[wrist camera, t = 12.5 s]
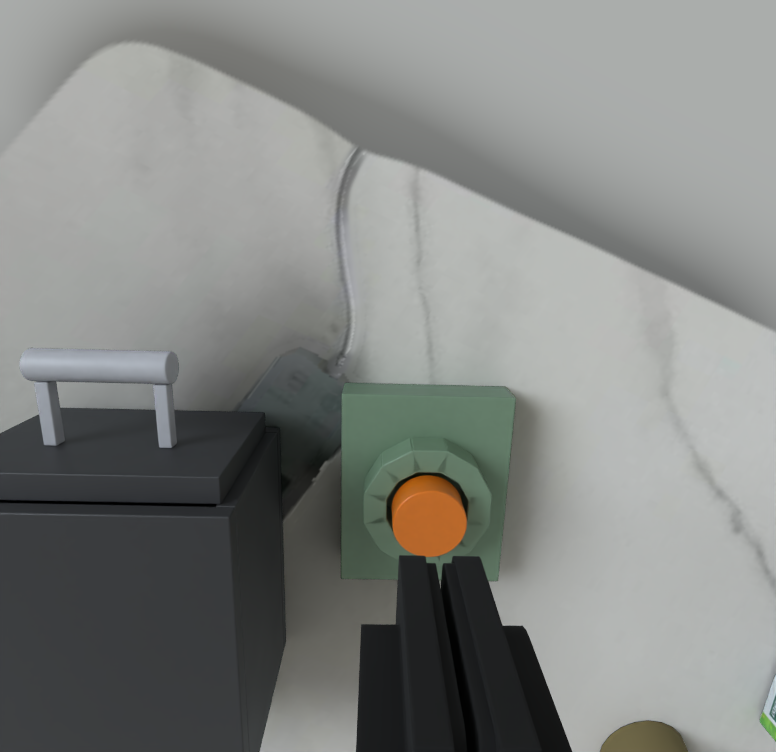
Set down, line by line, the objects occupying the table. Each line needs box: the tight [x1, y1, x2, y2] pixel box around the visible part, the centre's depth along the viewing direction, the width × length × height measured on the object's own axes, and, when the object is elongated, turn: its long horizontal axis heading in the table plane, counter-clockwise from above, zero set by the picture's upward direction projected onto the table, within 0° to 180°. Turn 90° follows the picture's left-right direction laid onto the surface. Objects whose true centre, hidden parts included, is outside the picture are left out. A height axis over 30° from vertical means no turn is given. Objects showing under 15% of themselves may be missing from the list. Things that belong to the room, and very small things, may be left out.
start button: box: [392, 475, 467, 557], centre depth 24 cm, size 4×4×2 cm
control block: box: [341, 383, 516, 581], centre depth 27 cm, size 11×9×4 cm
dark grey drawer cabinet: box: [0, 427, 286, 752], centre depth 25 cm, size 15×13×10 cm
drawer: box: [0, 348, 266, 507], centre depth 24 cm, size 18×11×8 cm, turn 178°
